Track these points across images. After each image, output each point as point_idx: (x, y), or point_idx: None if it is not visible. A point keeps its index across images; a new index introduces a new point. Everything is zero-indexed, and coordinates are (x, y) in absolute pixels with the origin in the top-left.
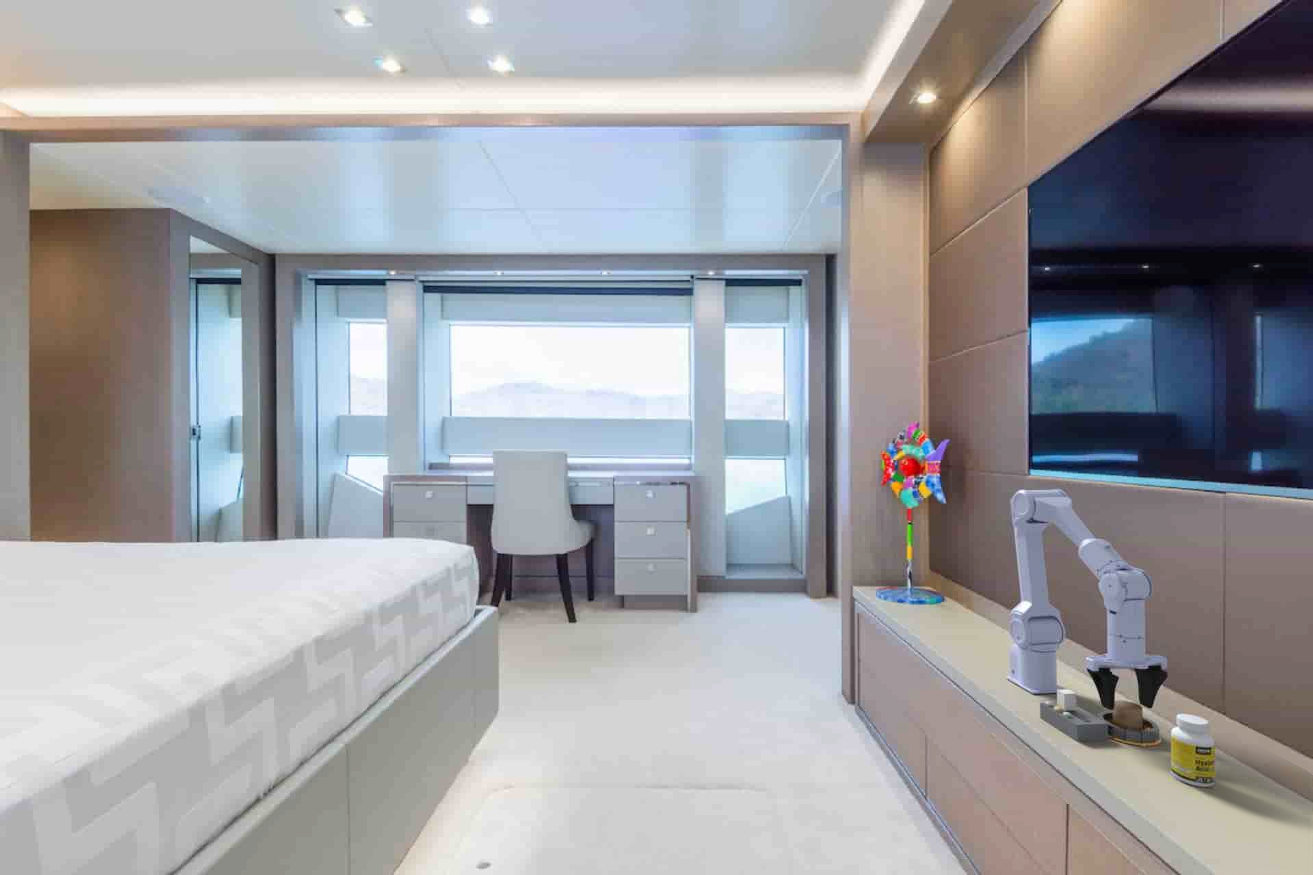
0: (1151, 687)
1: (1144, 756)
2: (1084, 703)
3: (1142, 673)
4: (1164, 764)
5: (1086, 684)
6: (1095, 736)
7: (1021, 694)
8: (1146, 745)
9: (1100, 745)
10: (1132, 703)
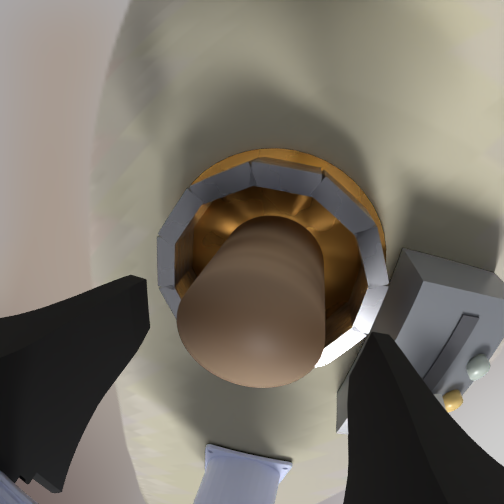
0: (54, 346)
1: (403, 96)
2: (213, 413)
3: (41, 445)
4: (385, 29)
5: (139, 432)
6: (451, 265)
7: (315, 464)
8: (310, 154)
9: (466, 224)
10: (198, 339)
